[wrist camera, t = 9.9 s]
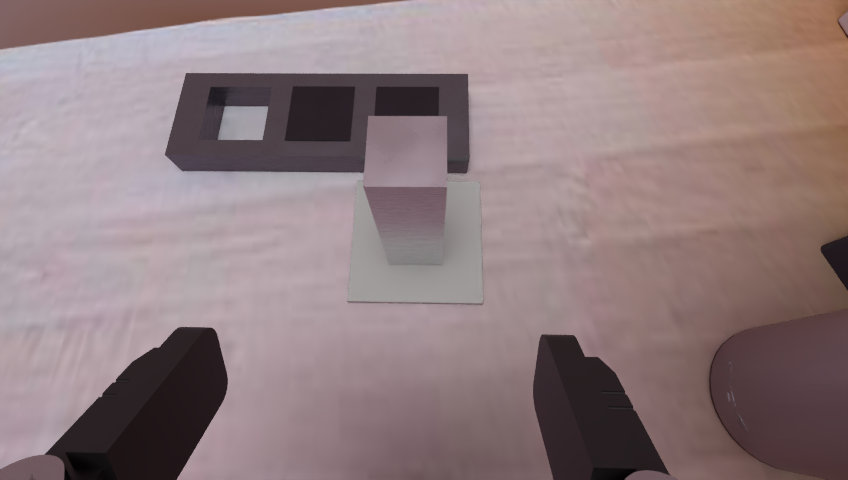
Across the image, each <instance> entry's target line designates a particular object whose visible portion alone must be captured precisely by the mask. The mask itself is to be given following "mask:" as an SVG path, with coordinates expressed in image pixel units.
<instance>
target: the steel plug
mask: <svg viewBox="0 0 848 480" xmlns="http://www.w3.org/2000/svg"><path fill="white" fill-rule="evenodd" d="M363 188H364V191H365V194H366V197H367V200H368V203H369V206H370V209H371V212H372V215H373V218H374V221H375V224H376V227H377V230H378V233H379V236H380V239H381V242H382V245H383V248H384V251H385V254H386V257H387V260H388V263H389V265H428V266H442V256H443V241H444V226H445V212H446V197H447V116H368V127H367V140H366V154H365V168H364V182H363Z"/></svg>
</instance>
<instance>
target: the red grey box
mask: <svg viewBox="0 0 848 480" xmlns="http://www.w3.org/2000/svg"><path fill="white" fill-rule="evenodd" d="M821 252H822V254H823V255H824V257H825V258H826V259H827V261H828V262H829V264H830V265H831V267H832V268H833V270H834V271H835V273H836V274H837V275H838V277H839V278H840V280H841V281H842V283H843V284H844V286H845V287H846V289H847V290H848V236H846V237H843V238H841V239H838V240H836V241H833V242H830V243H828V244H825V245H823V246H822V247H821Z"/></svg>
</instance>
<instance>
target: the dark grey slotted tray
mask: <svg viewBox="0 0 848 480" xmlns="http://www.w3.org/2000/svg"><path fill="white" fill-rule="evenodd" d="M224 106H269V107H268V113H267V119H266V125H265V130H264V136H263V140H217V137H218V133H219V128H220V123H221V119H222V114H223V110H224ZM368 116H447V173H467V169H468V162H469V115H468V74H254V73H186V76H185V80H184V84H183V87H182V91H181V95H180V99H179V103H178V107H177V110H176V114H175V118H174V122H173V126H172V130H171V134H170V137H169V141H168V145H167V149H166V153H165V155H166V156H167V157H168V158H169V159H170V160H171V161H172V162H173V163H174V164H176V165H177V166H178V167H179V168H180V169H181V170H182V171H287V172H364V168H365V154H366V140H367V127H368Z"/></svg>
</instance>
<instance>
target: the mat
mask: <svg viewBox="0 0 848 480" xmlns="http://www.w3.org/2000/svg"><path fill="white" fill-rule="evenodd" d="M363 182H364V181H357V191H356V203H355V215H354V227H353V239H352V251H351V263H350V276H349V288H348V300H347V301H348V302H366V303H427V304H483V286H482V248H481V211H480V182H463V181H447V197H446V212H445V226H444V241H443V256H442V266H428V265H389V263H388V260H387V257H386V254H385V251H384V248H383V245H382V242H381V239H380V236H379V233H378V230H377V227H376V224H375V221H374V218H373V215H372V212H371V209H370V206H369V203H368V200H367V197H366V194H365V191H364V188H363Z"/></svg>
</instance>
